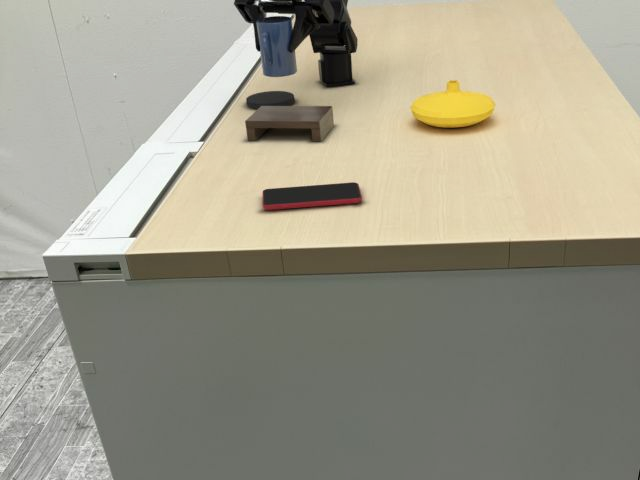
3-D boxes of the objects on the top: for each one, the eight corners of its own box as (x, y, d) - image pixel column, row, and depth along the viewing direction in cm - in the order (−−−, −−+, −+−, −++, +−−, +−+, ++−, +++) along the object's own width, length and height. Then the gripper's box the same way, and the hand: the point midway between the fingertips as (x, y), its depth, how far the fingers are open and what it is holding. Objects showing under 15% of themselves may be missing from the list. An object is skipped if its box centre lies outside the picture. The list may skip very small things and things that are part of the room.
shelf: (263, 125, 159) (261, 105, 157) (333, 125, 157) (332, 106, 155) (247, 140, 152) (244, 120, 150) (321, 141, 149) (319, 121, 147)
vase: (435, 140, 147) (435, 97, 142) (396, 119, 158) (395, 79, 153) (511, 125, 151) (513, 84, 147) (467, 106, 163) (468, 67, 158)
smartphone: (362, 198, 124) (262, 205, 123) (362, 204, 124) (263, 211, 123) (358, 181, 129) (262, 189, 128) (358, 187, 130) (263, 194, 129)
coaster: (289, 94, 176) (288, 88, 175) (299, 106, 169) (298, 99, 168) (243, 100, 174) (242, 94, 174) (251, 112, 167) (250, 106, 166)
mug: (272, 67, 162) (266, 15, 156) (302, 69, 160) (297, 16, 154) (252, 78, 156) (245, 24, 151) (283, 80, 154) (277, 25, 149)
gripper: (230, -60, 151) (210, 21, 151) (322, -60, 145) (301, 24, 145) (256, -17, 162) (238, 59, 161) (343, -17, 156) (324, 62, 155)
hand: (273, 50), depth 155 cm, fingers closed on mug, 6 cm apart
